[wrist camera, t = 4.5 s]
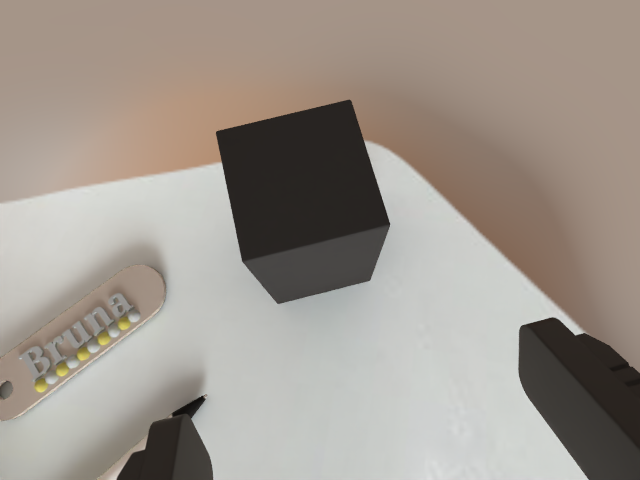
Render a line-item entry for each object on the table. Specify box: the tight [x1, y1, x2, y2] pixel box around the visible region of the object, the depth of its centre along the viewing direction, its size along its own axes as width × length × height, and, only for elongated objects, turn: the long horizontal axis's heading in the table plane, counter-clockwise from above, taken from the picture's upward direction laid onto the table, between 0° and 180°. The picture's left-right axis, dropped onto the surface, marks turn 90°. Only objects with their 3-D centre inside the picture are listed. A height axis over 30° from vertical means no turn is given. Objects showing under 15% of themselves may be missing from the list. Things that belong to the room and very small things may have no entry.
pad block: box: [216, 100, 390, 304], centre depth 19 cm, size 5×5×9 cm
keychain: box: [0, 265, 166, 421], centre depth 22 cm, size 10×1×3 cm
